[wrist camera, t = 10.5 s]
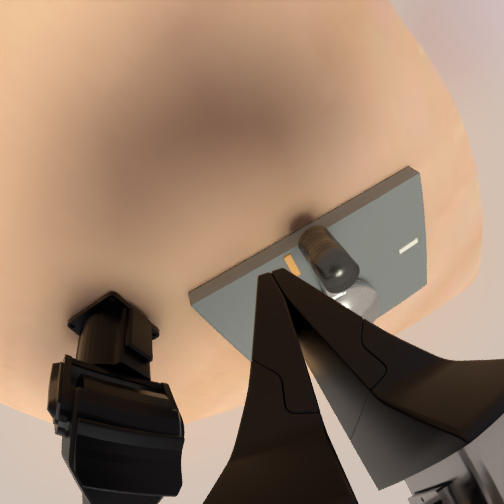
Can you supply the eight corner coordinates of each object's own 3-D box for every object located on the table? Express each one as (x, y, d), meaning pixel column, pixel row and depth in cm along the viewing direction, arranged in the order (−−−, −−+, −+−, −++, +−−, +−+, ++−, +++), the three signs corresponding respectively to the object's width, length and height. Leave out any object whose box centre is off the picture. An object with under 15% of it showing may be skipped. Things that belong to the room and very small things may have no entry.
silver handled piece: (376, 312, 31) (398, 342, 27) (313, 347, 31) (330, 381, 27) (353, 201, 21) (390, 234, 18) (259, 252, 22) (281, 296, 18)
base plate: (265, 368, 34) (270, 379, 33) (188, 293, 24) (190, 307, 23) (419, 276, 33) (427, 285, 31) (408, 166, 23) (421, 173, 21)
